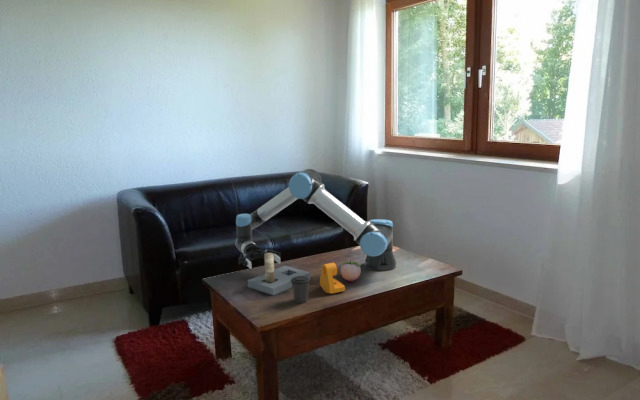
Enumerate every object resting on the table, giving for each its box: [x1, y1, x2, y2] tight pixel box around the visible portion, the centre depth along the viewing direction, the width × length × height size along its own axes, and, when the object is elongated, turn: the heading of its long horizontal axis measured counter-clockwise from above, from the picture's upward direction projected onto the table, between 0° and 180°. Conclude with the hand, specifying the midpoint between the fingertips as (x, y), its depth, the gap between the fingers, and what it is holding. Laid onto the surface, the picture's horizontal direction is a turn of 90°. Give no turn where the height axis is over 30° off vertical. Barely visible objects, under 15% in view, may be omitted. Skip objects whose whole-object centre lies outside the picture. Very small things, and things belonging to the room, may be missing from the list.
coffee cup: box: [291, 276, 311, 304], centre depth 197 cm, size 8×8×10 cm
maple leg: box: [263, 253, 275, 283], centre depth 212 cm, size 4×4×15 cm
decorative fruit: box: [339, 259, 362, 283], centre depth 216 cm, size 9×8×10 cm
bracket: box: [319, 262, 346, 295], centre depth 208 cm, size 11×7×12 cm, turn 24°
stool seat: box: [247, 265, 312, 296], centre depth 218 cm, size 24×16×3 cm, turn 140°
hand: (265, 263), depth 215 cm, fingers open, 13 cm apart
